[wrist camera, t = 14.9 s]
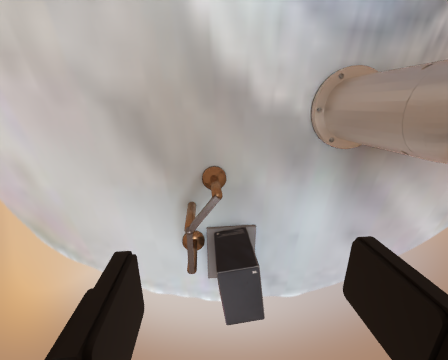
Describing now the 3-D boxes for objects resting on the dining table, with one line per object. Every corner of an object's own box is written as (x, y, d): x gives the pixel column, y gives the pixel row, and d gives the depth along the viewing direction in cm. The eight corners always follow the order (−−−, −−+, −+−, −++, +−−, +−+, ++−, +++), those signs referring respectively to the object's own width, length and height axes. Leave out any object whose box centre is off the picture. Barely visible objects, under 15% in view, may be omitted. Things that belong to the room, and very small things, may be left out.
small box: (211, 231, 40) (214, 273, 31) (246, 225, 41) (261, 264, 31) (219, 277, 44) (225, 328, 34) (252, 271, 44) (266, 320, 34)
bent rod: (229, 170, 38) (236, 189, 29) (201, 251, 42) (200, 287, 34) (201, 161, 37) (200, 178, 28) (175, 245, 41) (168, 281, 33)
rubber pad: (255, 224, 42) (255, 226, 41) (252, 272, 45) (253, 275, 44) (206, 227, 41) (206, 229, 40) (208, 276, 44) (208, 278, 44)
